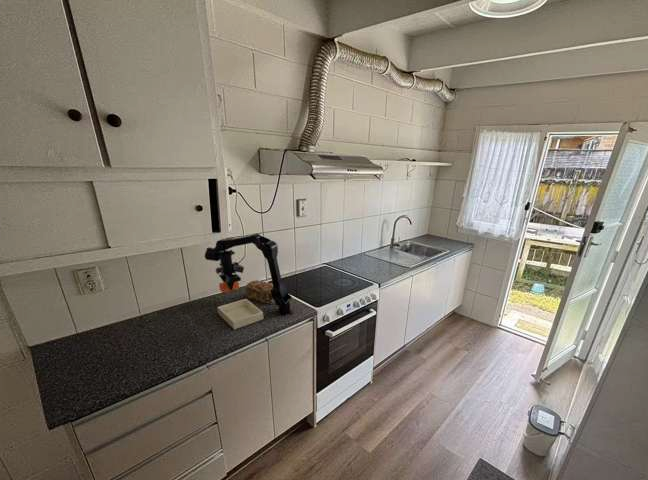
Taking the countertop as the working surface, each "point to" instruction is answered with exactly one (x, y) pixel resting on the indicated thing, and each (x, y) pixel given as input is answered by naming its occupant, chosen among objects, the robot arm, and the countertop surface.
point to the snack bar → (225, 287)
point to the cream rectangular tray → (240, 313)
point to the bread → (260, 291)
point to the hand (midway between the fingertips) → (229, 288)
